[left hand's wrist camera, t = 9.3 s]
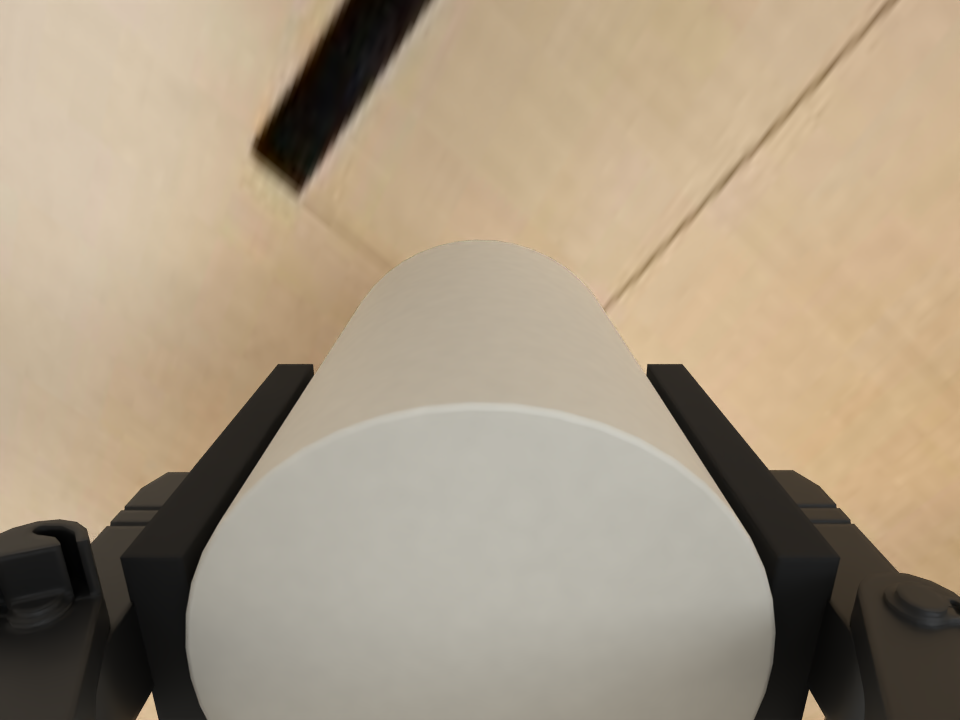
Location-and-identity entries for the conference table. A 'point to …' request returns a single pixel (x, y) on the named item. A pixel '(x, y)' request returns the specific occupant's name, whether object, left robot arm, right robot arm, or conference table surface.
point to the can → (480, 525)
